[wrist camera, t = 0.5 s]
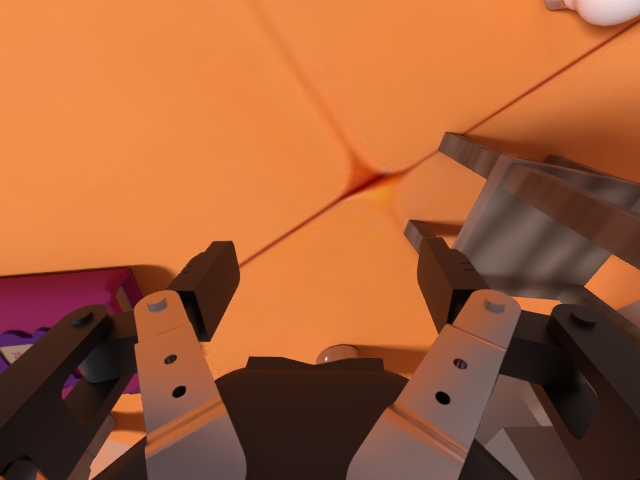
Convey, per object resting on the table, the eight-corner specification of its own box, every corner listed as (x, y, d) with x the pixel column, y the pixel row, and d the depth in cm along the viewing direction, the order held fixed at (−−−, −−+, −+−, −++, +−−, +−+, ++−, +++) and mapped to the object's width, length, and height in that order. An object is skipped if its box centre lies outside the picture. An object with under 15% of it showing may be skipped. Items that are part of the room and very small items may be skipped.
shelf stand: (566, 156, 42) (1147, 360, 14) (507, 248, 50) (803, 495, 22) (444, 128, 38) (936, 347, 10) (401, 234, 46) (602, 522, 18)
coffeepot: (127, 409, 60) (79, 528, 45) (126, 433, 65) (81, 548, 50) (36, 405, 56) (-51, 535, 41) (42, 431, 60) (-35, 556, 45)
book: (-90, 279, 40) (-160, 322, 33) (130, 261, 43) (105, 298, 36) (1, 373, 51) (-38, 419, 44) (170, 354, 54) (157, 394, 48)
